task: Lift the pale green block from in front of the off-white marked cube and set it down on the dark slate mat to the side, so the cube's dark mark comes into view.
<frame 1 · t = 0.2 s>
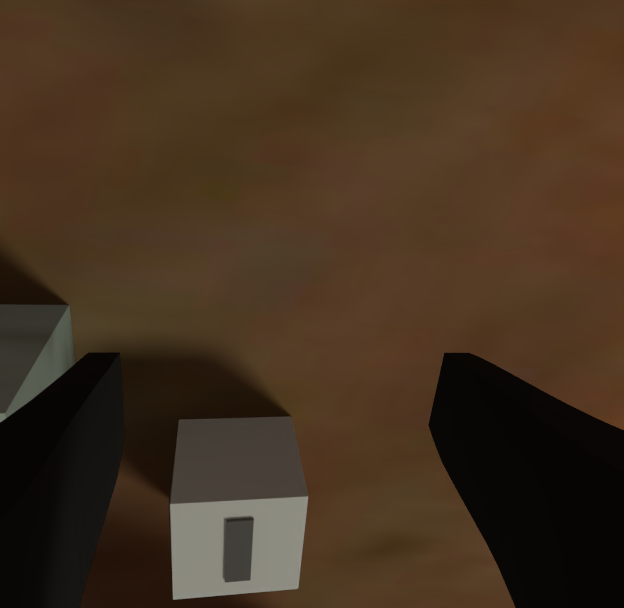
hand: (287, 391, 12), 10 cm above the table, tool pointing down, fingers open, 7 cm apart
pale green block: (27, 393, 22), on the table
marked cube: (234, 460, 25), on the table
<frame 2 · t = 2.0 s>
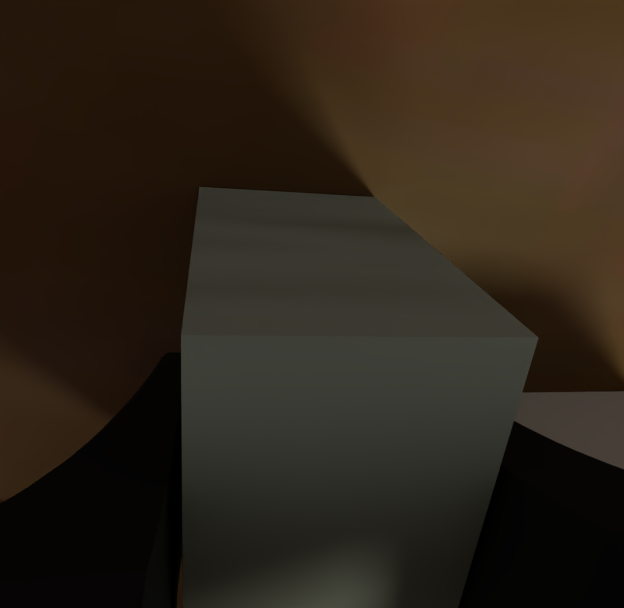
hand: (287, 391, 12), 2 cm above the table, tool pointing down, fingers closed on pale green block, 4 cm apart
pale green block: (277, 347, 14), on the table, touching gripper
marked cube: (535, 457, 17), on the table
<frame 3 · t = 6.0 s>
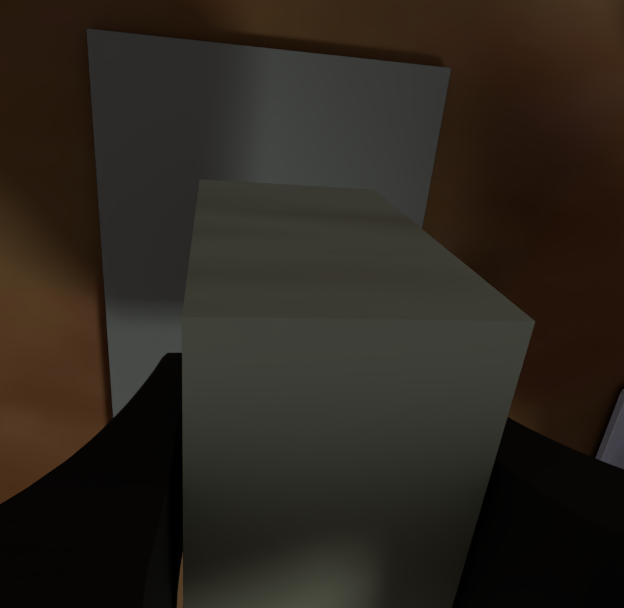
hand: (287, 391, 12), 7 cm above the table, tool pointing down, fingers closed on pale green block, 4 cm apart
pale green block: (277, 340, 14), point 4 cm above the table, touching gripper
slate mat: (264, 281, 18), on the table
when the fingers open (3 cm above the table, at t = 7.1 s): pale green block stays where it is, resting on slate mat.
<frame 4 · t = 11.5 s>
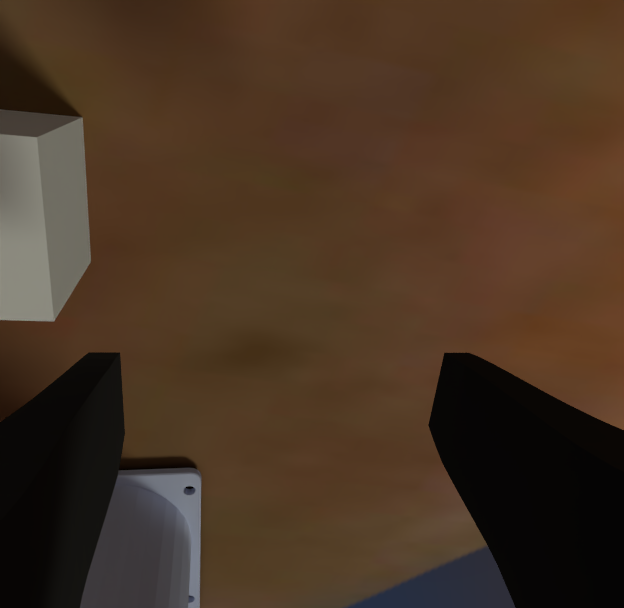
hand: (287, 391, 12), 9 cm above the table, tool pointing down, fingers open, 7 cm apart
marked cube: (8, 187, 18), on the table
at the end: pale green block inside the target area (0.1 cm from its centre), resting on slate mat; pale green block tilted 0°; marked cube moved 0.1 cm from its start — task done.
